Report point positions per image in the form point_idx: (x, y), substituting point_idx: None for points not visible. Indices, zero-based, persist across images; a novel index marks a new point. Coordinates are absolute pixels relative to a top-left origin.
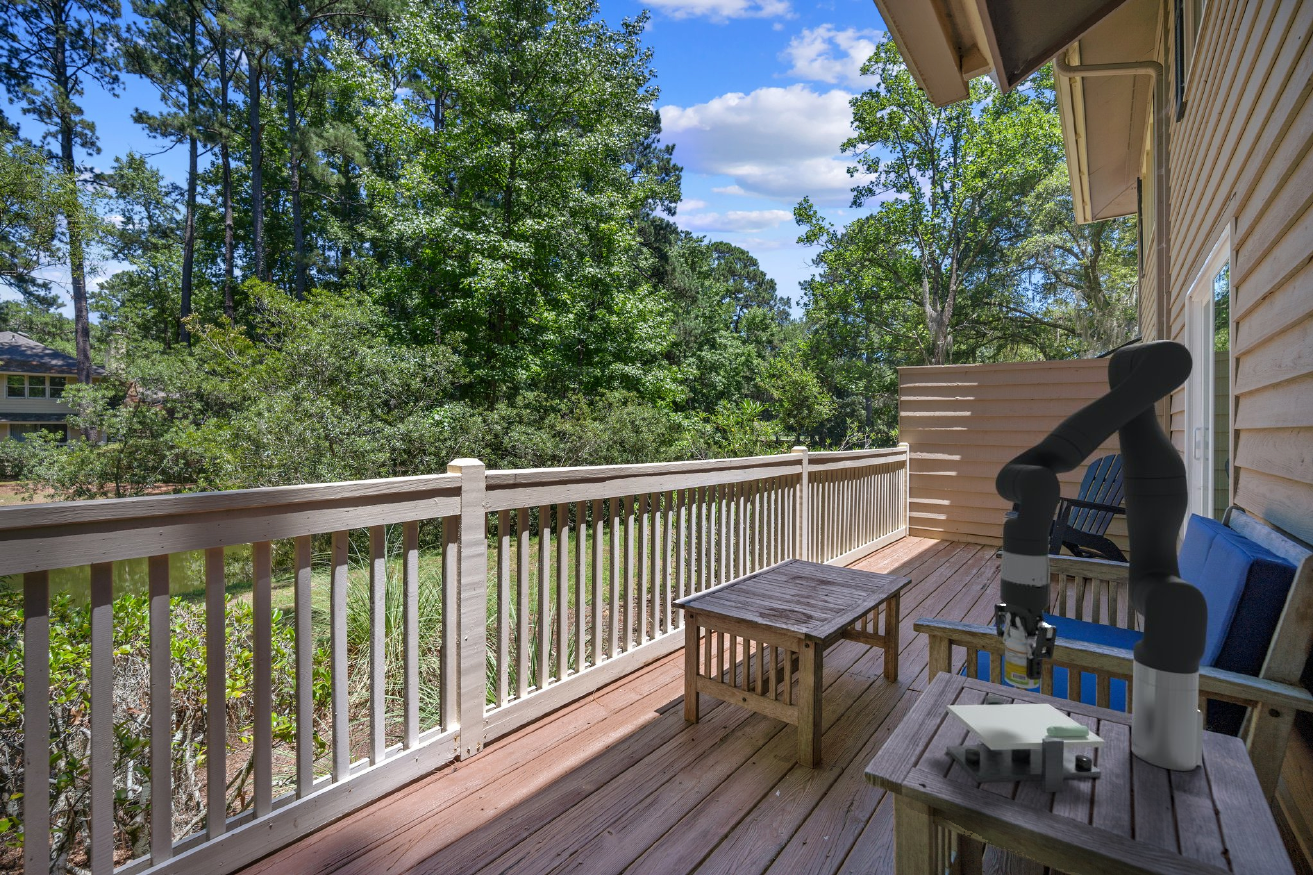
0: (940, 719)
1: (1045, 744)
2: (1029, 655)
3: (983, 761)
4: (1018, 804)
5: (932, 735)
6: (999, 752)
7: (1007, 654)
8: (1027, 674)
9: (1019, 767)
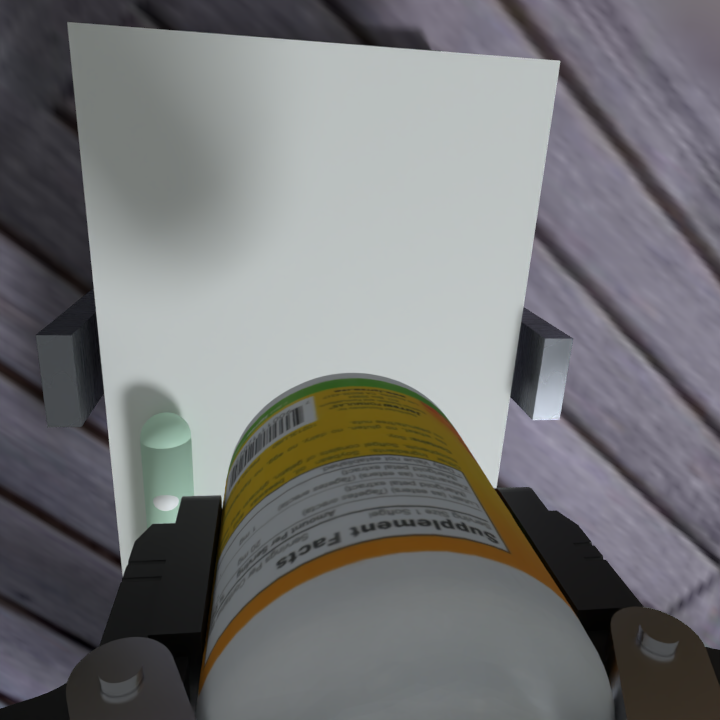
0: (674, 200)
1: (48, 328)
2: (103, 664)
3: None
4: (17, 108)
5: (568, 76)
6: None
7: (404, 492)
8: (202, 508)
9: None
